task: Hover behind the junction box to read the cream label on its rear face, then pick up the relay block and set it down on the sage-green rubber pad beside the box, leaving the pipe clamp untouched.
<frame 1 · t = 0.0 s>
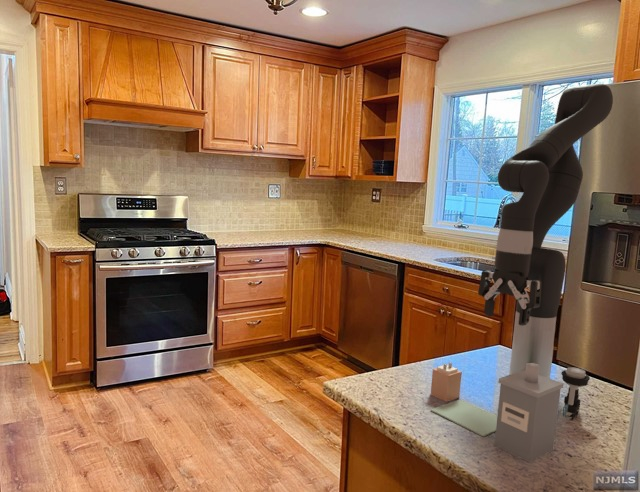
hand: (505, 320, 119), 17 cm above the counter, tool pointing down, fingers open, 8 cm apart
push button: (569, 417, 110), on the counter
pipe clamp: (530, 419, 108), on the counter
junction box: (523, 447, 96), on the counter
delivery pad: (471, 417, 107), on the counter
relay block: (444, 396, 117), on the counter
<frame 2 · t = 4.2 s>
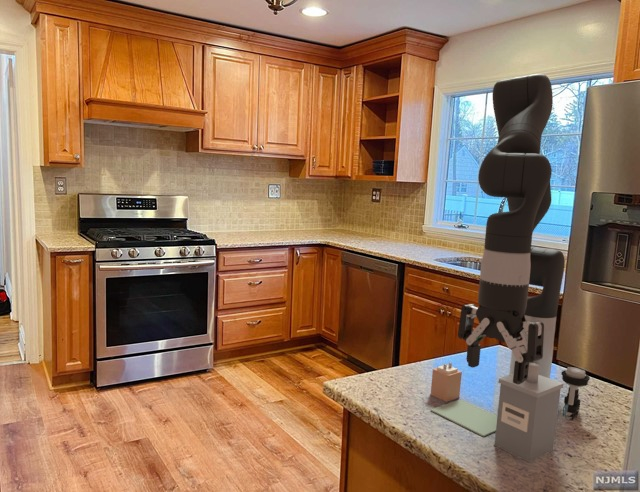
hand: (494, 374, 86), 16 cm above the counter, tool pointing down, fingers open, 8 cm apart
pipe clamp: (522, 418, 109), on the counter
everything else where it was.
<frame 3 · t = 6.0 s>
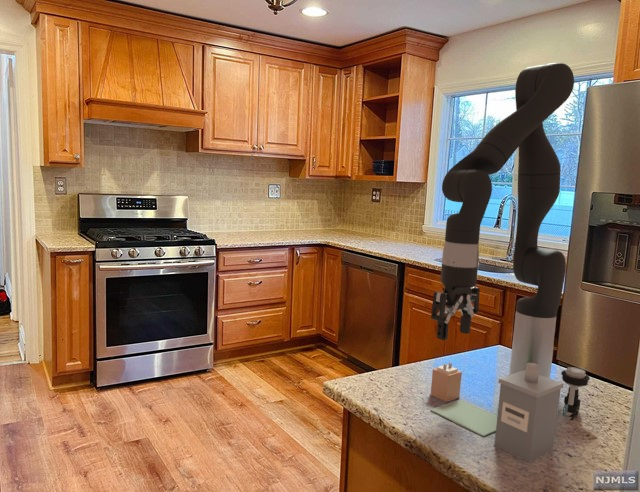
hand: (453, 336, 114), 14 cm above the counter, tool pointing down, fingers open, 8 cm apart
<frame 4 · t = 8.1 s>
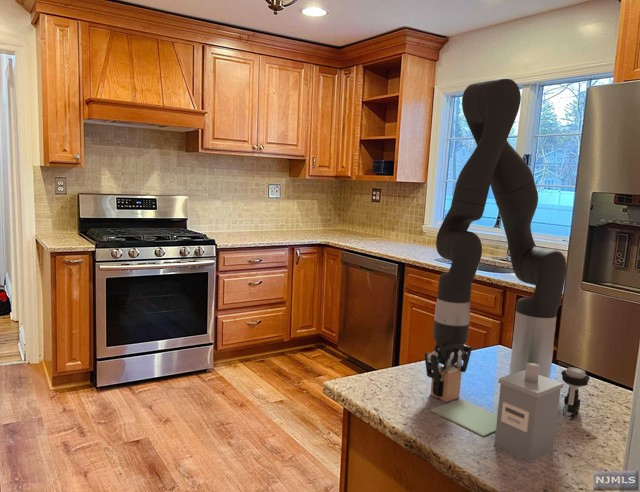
hand: (445, 392, 117), 1 cm above the counter, tool pointing down, fingers closed on relay block, 4 cm apart
relay block: (444, 395, 117), on the counter, touching gripper
everything else where it was.
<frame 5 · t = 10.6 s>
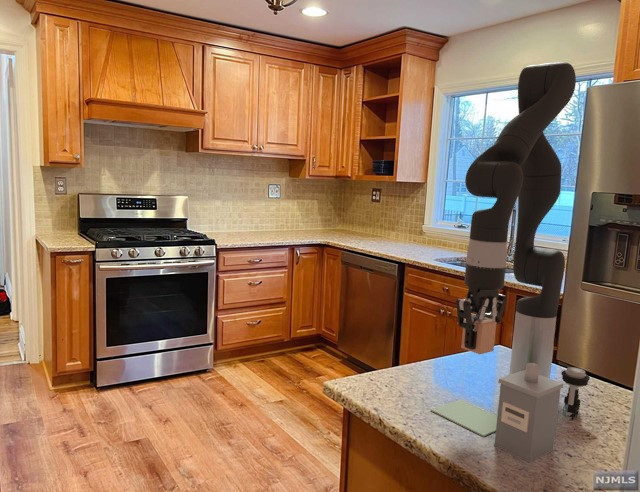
hand: (477, 346, 105), 15 cm above the counter, tool pointing down, fingers closed on relay block, 4 cm apart
relay block: (477, 349, 105), point 14 cm above the counter, touching gripper
everything else where it was.
when the fingers open (2 cm above the counter, at t = 13.4 s): relay block stays where it is, resting on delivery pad.
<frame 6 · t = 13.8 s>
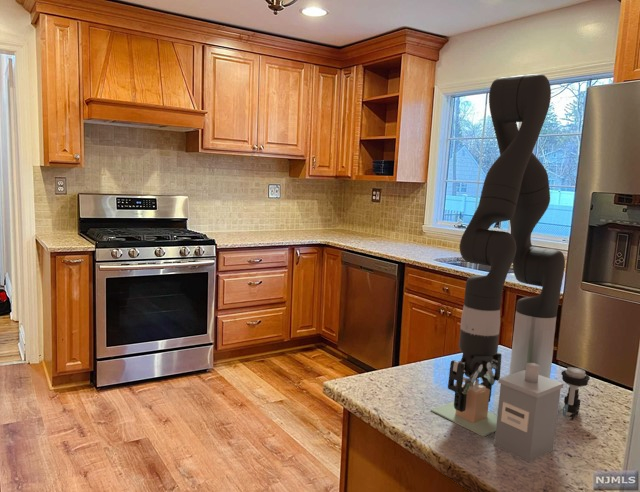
hand: (472, 405, 107), 3 cm above the counter, tool pointing down, fingers open, 8 cm apart
relay block: (471, 415, 107), resting on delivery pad
everything else where it was.
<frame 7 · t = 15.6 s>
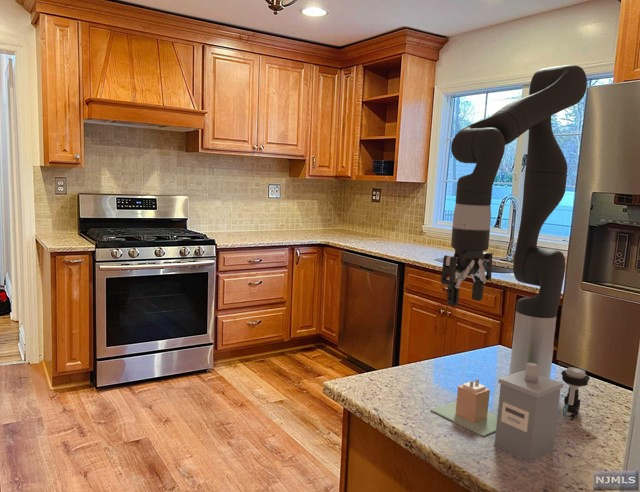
hand: (465, 302, 110), 23 cm above the counter, tool pointing down, fingers open, 8 cm apart
nothing on the counter moved.
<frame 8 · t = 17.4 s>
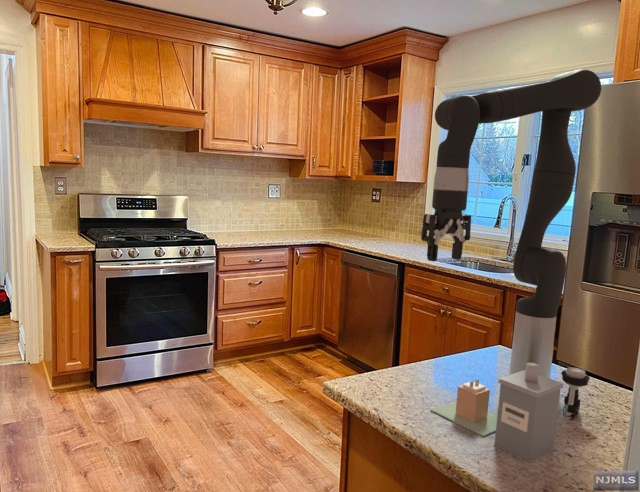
hand: (444, 259, 119), 30 cm above the counter, tool pointing down, fingers open, 8 cm apart
nothing on the counter moved.
at the end: relay block inside the target area (0.0 cm from its centre), resting on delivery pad; relay block tilted 0°; the gripper is holding nothing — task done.
